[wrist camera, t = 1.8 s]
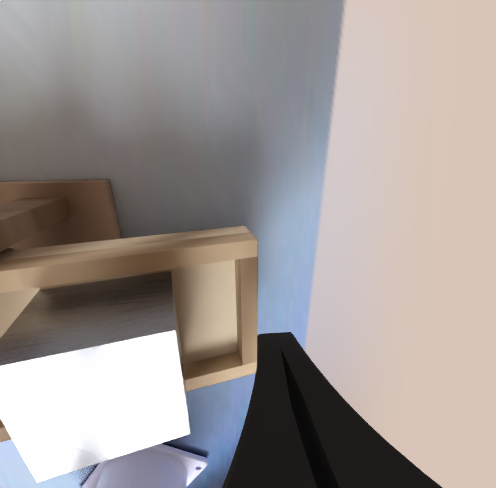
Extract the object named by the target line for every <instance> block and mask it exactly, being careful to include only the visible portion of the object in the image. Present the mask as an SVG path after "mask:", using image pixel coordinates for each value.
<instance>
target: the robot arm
mask: <svg viewBox="0 0 496 488" xmlns="http://www.w3.org/2000/svg"><path fill="white" fill-rule="evenodd" d="M206 466H207V459H206V458H205V457H202V456H199V455H196V454H193V453H190V452H186V451H183V450H180V449H177V448H173V447H170V446H167V445H164V444H161V443H160V444H157V445H154V446H151V447H148V448H144V449H141V450H138V451H135V452H132V453H129V454H125V455H122V456H119V457H116V458H113V459H110V460H106V461H103V462H100V463H99V465H98V466H97V467H96V469H95V470H94V471H93V473H92V474H91V475H90V477H89V478H88V479H87V481H86V482H85V483H84V485H83V486H82V487H81V488H186V487H187V486H188V485H189V484H190V483H191V482H192V481H193V479H194V478H195V477H196V476H197V475H198V474H199V473H200V472H201V471H202V470H203V469H204V468H205V467H206ZM222 488H442V487H441V486H440V485H438V484H437V483H436V482H435V481H433V480H432V479H431V478H430V477H428V476H427V475H425V474H424V473H423V472H422V471H421V470H420V469H419V468H417V467H416V466H415V465H414V464H413V463H412V462H410V461H409V460H408V459H407V458H406V457H405V456H403V455H402V454H401V453H400V452H399V451H397V450H396V449H395V448H394V447H393V446H392V445H390V444H389V443H388V442H387V441H386V440H385V439H384V438H383V437H382V436H381V435H380V434H378V433H377V432H376V431H375V430H374V429H373V428H372V427H371V426H370V425H369V424H368V423H367V422H366V421H365V420H364V419H363V418H362V417H361V416H360V415H359V414H358V413H357V412H356V411H355V410H354V409H353V408H352V407H351V406H350V405H349V404H348V403H347V402H346V401H345V400H344V399H343V398H342V396H341V395H340V394H339V393H338V392H337V391H336V390H335V389H334V388H333V386H332V385H331V384H330V383H329V382H328V380H327V379H326V378H325V377H324V376H323V374H322V373H321V372H320V371H319V369H318V368H317V367H316V366H315V364H314V363H313V362H312V361H311V359H310V358H309V357H308V355H307V354H306V353H305V351H304V350H303V348H302V347H301V346H300V344H299V343H298V341H297V340H296V338H295V337H294V335H293V334H292V333H291V332H285V333H268V334H259V335H258V336H257V369H256V375H255V381H254V386H253V391H252V395H251V400H250V404H249V408H248V412H247V416H246V419H245V423H244V426H243V430H242V433H241V436H240V439H239V442H238V445H237V448H236V451H235V454H234V457H233V460H232V463H231V466H230V469H229V472H228V474H227V477H226V479H225V482H224V484H223V487H222Z"/></svg>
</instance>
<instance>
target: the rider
mask: <svg viewBox="0 0 496 488" xmlns="http://www.w3.org/2000/svg"><path fill="white" fill-rule="evenodd" d="M0 418H1V420H2V422H3V424H4V426H5V427H6V429H7V431H8V433H9V434H10V436H11V438H12V440H13V441H14V443H15V445H16V447H17V448H18V450H19V452H20V454H21V455H22V457H23V459H24V461H25V462H26V464H27V466H28V468H29V470H30V471H31V473H32V475H33V477H34V478H35V480H36V482H40V481H43V480H46V479H49V478H53V477H56V476H59V475H62V474H65V473H68V472H72V471H75V470H78V469H81V468H84V467H87V466H91V465H94V464H97V463H100V462H103V461H106V460H110V459H113V458H116V457H119V456H122V455H125V454H129V453H132V452H135V451H138V450H141V449H144V448H148V447H151V446H154V445H157V444H160V443H163V442H167V441H170V440H173V439H176V438H179V437H182V436H186V435H189V434H191V433H190V423H189V413H188V402H187V392H186V382H185V372H184V362H183V353H182V346H181V338H180V331H179V324H178V317H177V310H176V302H175V295H174V288H173V281H172V274H171V271H167V272H160V273H153V274H146V275H139V276H132V277H125V278H118V279H111V280H104V281H98V282H91V283H84V284H77V285H70V286H63V287H56V288H49V289H42V290H39V291H38V292H37V293H36V295H35V296H34V297H33V298H32V300H31V301H30V302H29V303H28V305H27V306H26V307H25V308H24V310H23V311H22V312H21V313H20V315H19V316H18V317H17V318H16V319H15V321H14V322H13V323H12V324H11V326H10V327H9V328H8V329H7V331H6V332H5V333H4V334H3V336H2V337H1V338H0Z"/></svg>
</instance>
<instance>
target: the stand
mask: <svg viewBox="0 0 496 488" xmlns="http://www.w3.org/2000/svg"><path fill="white" fill-rule="evenodd" d="M114 239H122V237H121V233H120V228H119V223H118V218H117V214H116V209H115V204H114V200H113V195H112V190H111V185H110V181H109V179H107V180H57V181H6V182H0V251H2V250H4V249H6V248H13V249H14V250H20V249H29V248H39V247H48V246H57V245H67V244H76V243H86V242H95V241H105V240H114Z"/></svg>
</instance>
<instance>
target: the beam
mask: <svg viewBox="0 0 496 488" xmlns="http://www.w3.org/2000/svg"><path fill="white" fill-rule="evenodd" d="M167 271H171V274H172V281H173V288H174V295H175V302H176V310H177V317H178V324H179V331H180V338H181V346H182V353H183V362H184V372H185V382H186V392H187V391H191V390H194V389H198V388H202V387H206V386H209V385H213V384H217V383H220V382H224V381H228V380H231V379H235V378H239V377H242V376H246V375H250V374H254V373H256V369H257V279H258V239H257V238H256V237H255V236H254V235H253V234H252V233H251V232H250V231H249V230H248V229H247V228H246V227H245V226H236V227H227V228H218V229H208V230H199V231H189V232H180V233H170V234H161V235H152V236H142V237H133V238H123V239H114V240H105V241H95V242H86V243H76V244H67V245H57V246H48V247H39V248H29V249H20V250H14V249H13V248H6V249H4V250H2V251H0V338H1V337H2V336H3V334H4V333H5V332H6V331H7V329H8V328H9V327H10V326H11V324H12V323H13V322H14V321H15V319H16V318H17V317H18V316H19V315H20V313H21V312H22V311H23V310H24V308H25V307H26V306H27V305H28V303H29V302H30V301H31V300H32V298H33V297H34V296H35V295H36V293H37V292H38V291H39V290H42V289H49V288H56V287H63V286H70V285H77V284H84V283H91V282H98V281H104V280H111V279H118V278H125V277H132V276H139V275H146V274H153V273H160V272H167ZM10 439H12V438H11V436H10V434H9V433H8V431H7V429H6V427H5V426H4V424H3V422H2V420H1V418H0V442H3V441H6V440H10Z"/></svg>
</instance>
